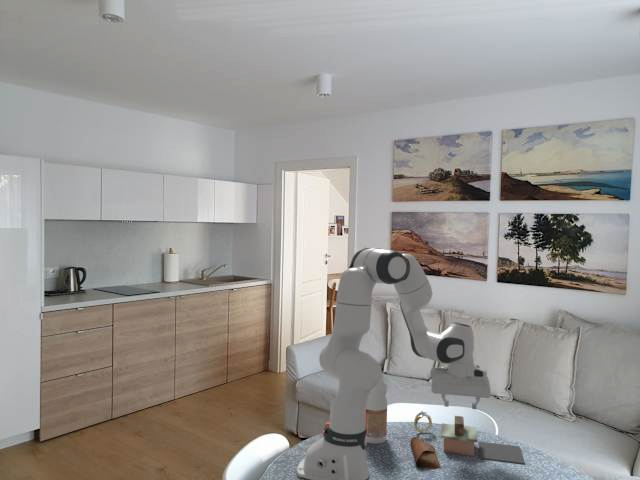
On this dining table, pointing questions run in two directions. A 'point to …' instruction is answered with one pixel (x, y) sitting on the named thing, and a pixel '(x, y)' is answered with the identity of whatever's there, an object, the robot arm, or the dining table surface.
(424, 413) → the ring
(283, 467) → the dining table surface
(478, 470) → the dining table surface
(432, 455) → the sunglasses case
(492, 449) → the mat
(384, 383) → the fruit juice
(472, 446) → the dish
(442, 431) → the lid
